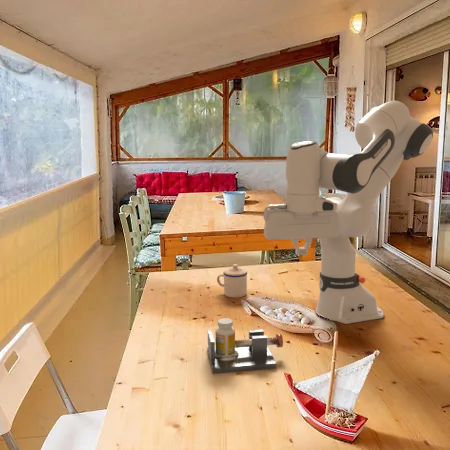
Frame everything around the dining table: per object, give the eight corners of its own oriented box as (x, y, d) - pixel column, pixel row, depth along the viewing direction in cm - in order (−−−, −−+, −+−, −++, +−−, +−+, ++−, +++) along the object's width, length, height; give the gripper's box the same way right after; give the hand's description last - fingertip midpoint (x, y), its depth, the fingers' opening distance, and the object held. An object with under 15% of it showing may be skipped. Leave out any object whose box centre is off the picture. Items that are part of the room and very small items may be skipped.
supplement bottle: (216, 358, 133) (215, 325, 131) (215, 349, 139) (214, 317, 137) (236, 357, 134) (236, 324, 132) (234, 348, 139) (233, 316, 137)
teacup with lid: (250, 291, 191) (250, 262, 189) (242, 299, 183) (242, 269, 180) (221, 288, 195) (221, 259, 193) (212, 295, 187) (212, 266, 184)
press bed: (264, 345, 145) (264, 321, 143) (276, 368, 131) (276, 342, 130) (207, 349, 142) (206, 325, 141) (212, 373, 129) (212, 347, 127)
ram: (279, 343, 139) (279, 331, 139) (282, 349, 136) (283, 337, 135) (234, 347, 138) (234, 335, 137) (236, 353, 134) (236, 340, 133)
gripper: (266, 207, 126) (266, 259, 129) (343, 204, 129) (341, 255, 131) (261, 203, 132) (261, 253, 135) (334, 200, 135) (333, 249, 137)
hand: (301, 254), depth 133 cm, fingers closed
